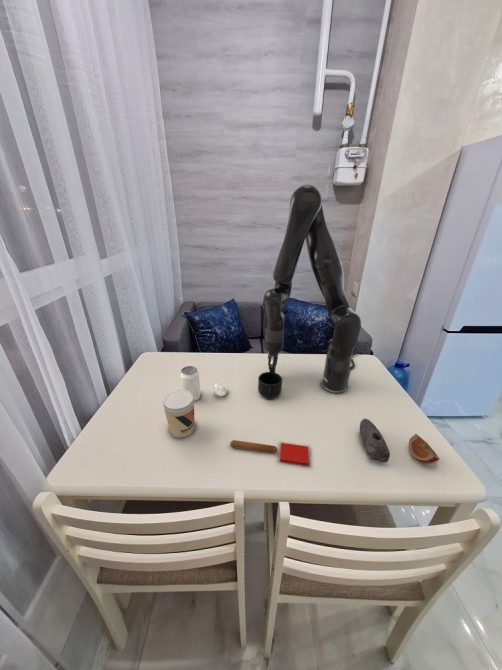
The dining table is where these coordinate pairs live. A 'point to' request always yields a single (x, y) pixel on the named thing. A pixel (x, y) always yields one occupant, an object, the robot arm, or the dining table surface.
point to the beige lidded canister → (179, 413)
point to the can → (191, 381)
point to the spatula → (287, 454)
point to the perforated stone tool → (374, 442)
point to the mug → (269, 384)
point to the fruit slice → (422, 450)
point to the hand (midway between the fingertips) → (272, 375)
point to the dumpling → (219, 390)
